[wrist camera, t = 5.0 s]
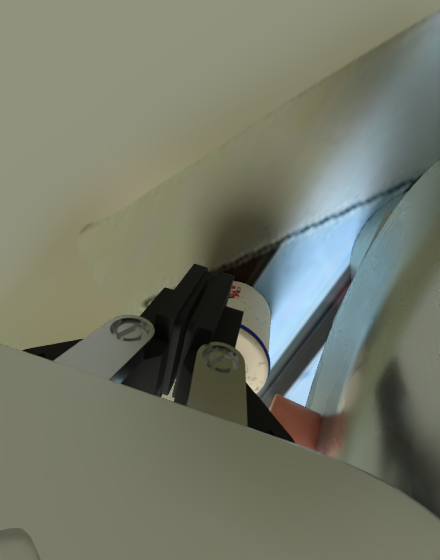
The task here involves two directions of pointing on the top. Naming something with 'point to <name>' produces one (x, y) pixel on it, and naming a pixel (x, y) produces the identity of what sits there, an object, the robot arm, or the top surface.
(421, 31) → the top surface
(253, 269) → the top surface
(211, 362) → the robot arm
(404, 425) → the lid
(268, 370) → the teacup with lid
